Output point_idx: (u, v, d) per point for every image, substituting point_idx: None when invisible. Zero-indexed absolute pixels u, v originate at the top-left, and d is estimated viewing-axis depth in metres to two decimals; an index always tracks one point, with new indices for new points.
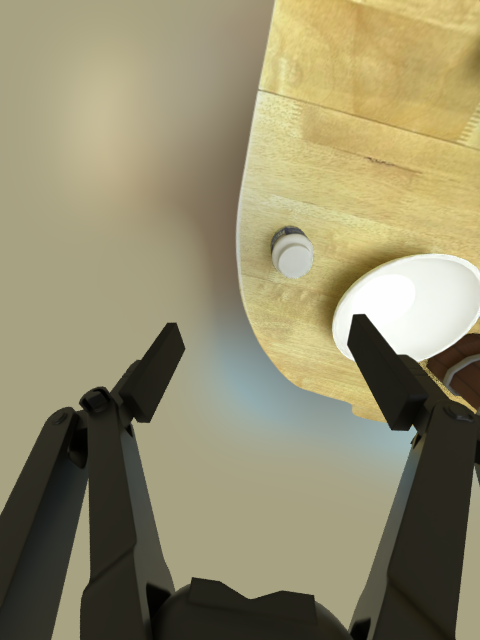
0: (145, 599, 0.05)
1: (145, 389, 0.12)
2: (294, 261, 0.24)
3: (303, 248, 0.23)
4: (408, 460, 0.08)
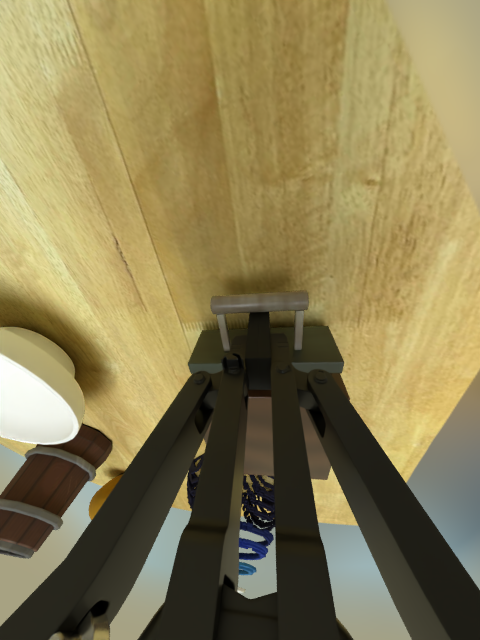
0: (220, 594, 0.05)
1: None
2: None
3: None
4: None
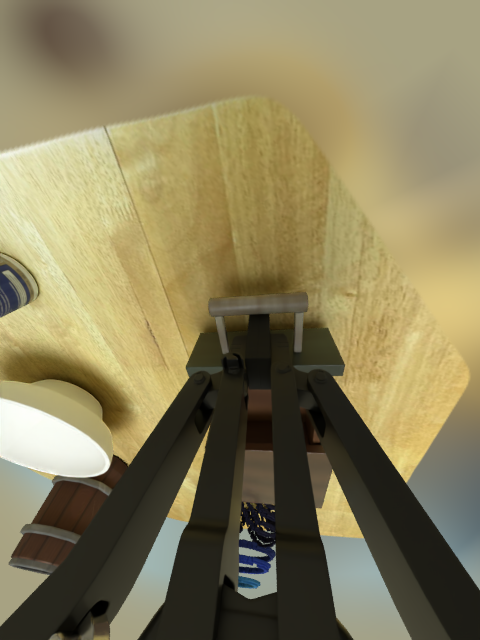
0: (220, 594, 0.05)
1: None
2: None
3: None
4: None
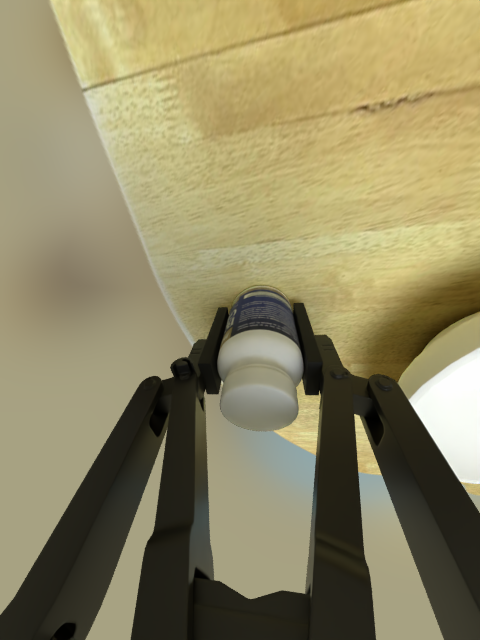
0: (192, 586, 0.05)
1: (216, 362, 0.13)
2: (254, 409, 0.10)
3: (261, 387, 0.09)
4: None
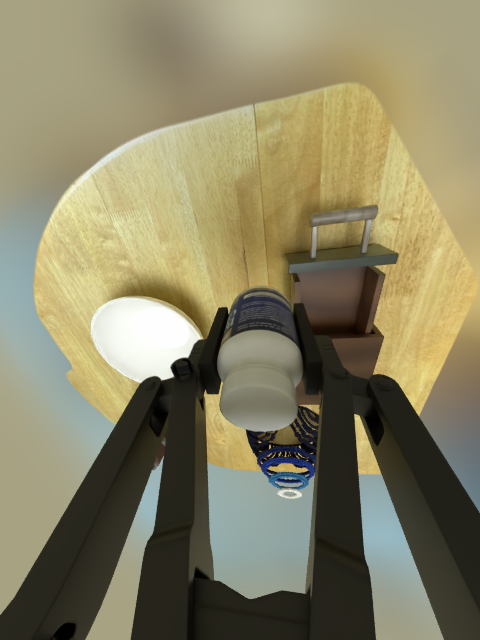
0: (192, 586, 0.05)
1: (216, 362, 0.13)
2: (254, 409, 0.10)
3: (260, 387, 0.09)
4: None
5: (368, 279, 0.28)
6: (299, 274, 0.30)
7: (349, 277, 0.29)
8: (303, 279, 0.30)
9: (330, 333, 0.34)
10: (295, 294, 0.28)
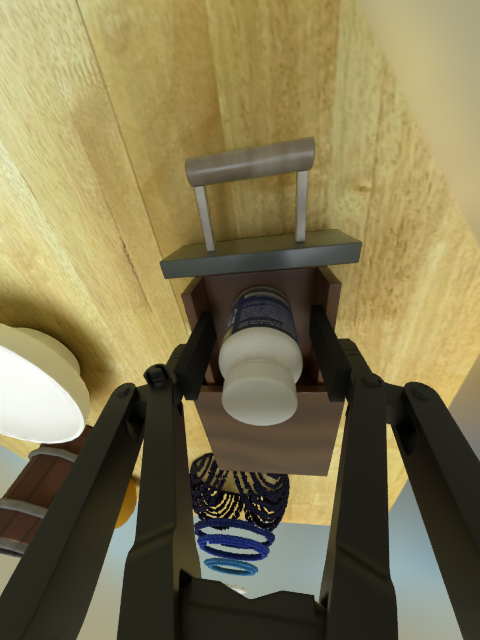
0: (177, 586, 0.05)
1: (194, 368, 0.13)
2: (255, 403, 0.11)
3: (261, 381, 0.10)
4: (344, 431, 0.10)
5: (318, 291, 0.16)
6: (208, 280, 0.18)
7: (290, 286, 0.17)
8: (216, 288, 0.18)
9: None
10: (188, 315, 0.16)
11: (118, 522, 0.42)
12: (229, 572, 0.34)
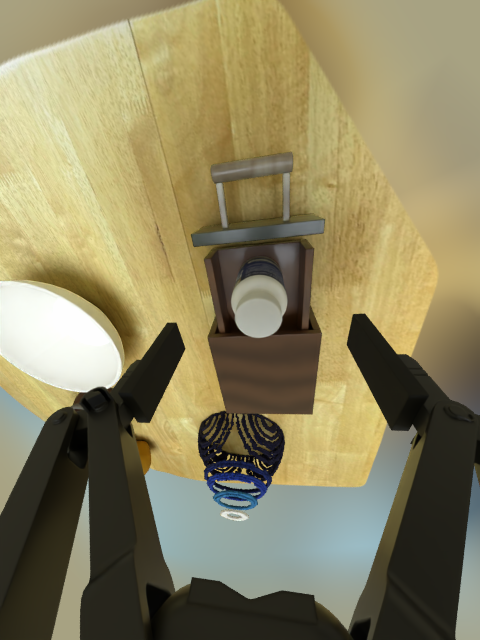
0: (145, 599, 0.05)
1: (145, 389, 0.12)
2: (256, 318, 0.17)
3: (259, 300, 0.16)
4: (408, 460, 0.08)
5: (301, 258, 0.22)
6: (220, 252, 0.24)
7: (281, 256, 0.24)
8: (226, 259, 0.24)
9: None
10: (208, 275, 0.22)
11: None
12: (233, 507, 0.40)
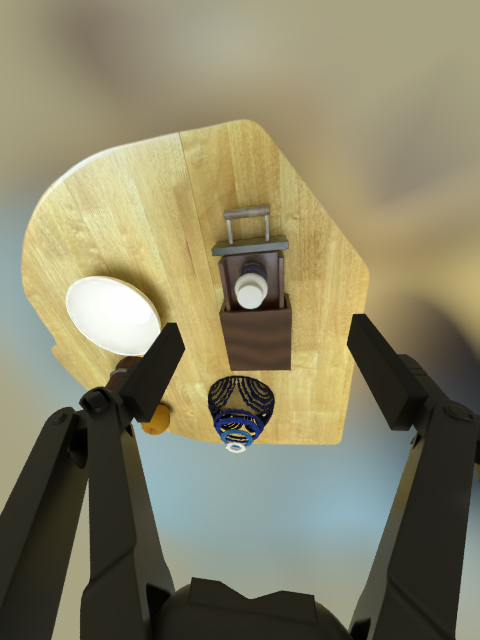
0: (145, 599, 0.05)
1: (145, 389, 0.12)
2: (248, 297, 0.31)
3: (250, 286, 0.30)
4: (408, 460, 0.08)
5: (278, 262, 0.36)
6: (228, 258, 0.38)
7: (266, 261, 0.37)
8: (231, 262, 0.38)
9: (260, 308, 0.42)
10: (220, 273, 0.36)
11: (160, 427, 0.63)
12: (235, 445, 0.55)
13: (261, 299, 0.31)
